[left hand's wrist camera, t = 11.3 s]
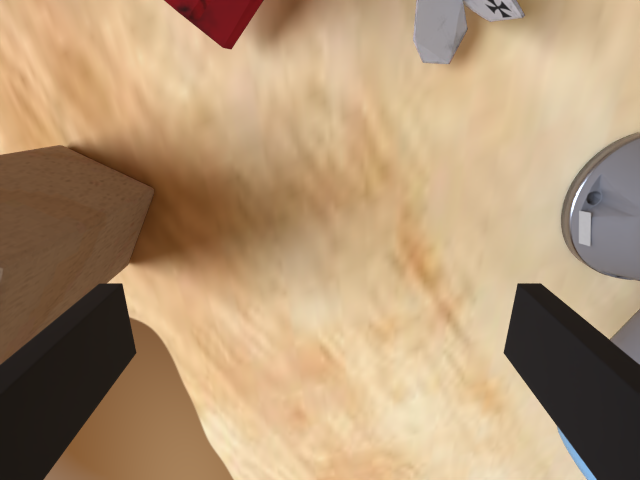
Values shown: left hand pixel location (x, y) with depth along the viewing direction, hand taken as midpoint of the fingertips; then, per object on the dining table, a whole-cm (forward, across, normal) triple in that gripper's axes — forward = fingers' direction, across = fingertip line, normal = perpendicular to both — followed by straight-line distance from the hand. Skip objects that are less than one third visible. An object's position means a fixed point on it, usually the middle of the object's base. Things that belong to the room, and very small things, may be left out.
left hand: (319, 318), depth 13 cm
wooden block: (+27, -24, -4) cm, 36 cm away
